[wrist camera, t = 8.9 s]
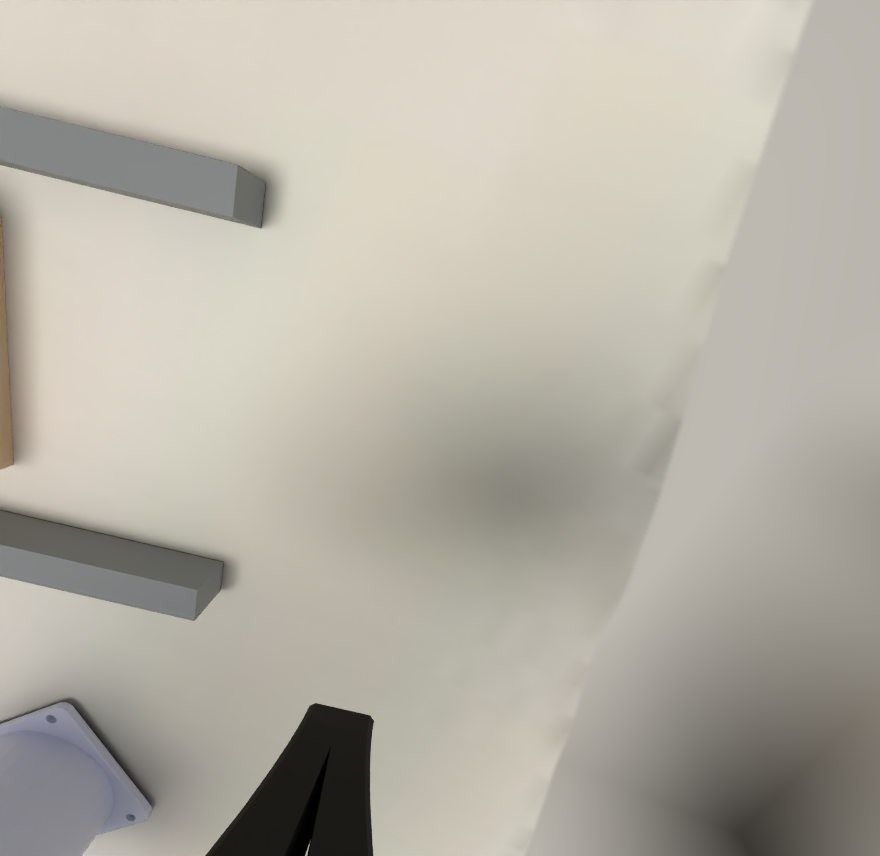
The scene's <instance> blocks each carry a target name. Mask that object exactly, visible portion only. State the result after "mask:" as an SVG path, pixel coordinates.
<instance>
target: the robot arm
mask: <svg viewBox="0 0 880 856" xmlns="http://www.w3.org/2000/svg"><path fill="white" fill-rule="evenodd" d="M373 723H374V720H373V719H372V718H371V716H370V715H365V714H361V713H356V712H352V711H348V710H343V709H339V708H335V707H330V706H326V705H321V704H317V703H315V704H313V705H311V706H310V707H309V708H308V710H307V712H306V714H305V716H304V718H303V720H302V722H301V723H300V725H299V727H298V728H297V730H296V732H295V733H294V735H293V737H292V738H291V740H290V742H289V743H288V745H287V746H286V748H285V749H284V751H283V752H282V754H281V755H280V757H279V758H278V760H277V761H276V763H275V764H274V766H273V767H272V769H271V770H270V771H269V773H268V774H267V776H266V777H265V778H264V780H263V781H262V783H261V784H260V785H259V787H258V788H257V789H256V791H255V792H254V794H253V795H252V796H251V798H250V799H249V801H248V802H247V803H246V805H245V806H244V807H243V809H242V810H241V811H240V813H239V814H238V815H237V817H236V818H235V819H234V820H233V822H232V823H231V824H230V825H229V827H228V828H227V829H226V830H225V832H224V833H223V834H222V835H221V837H220V838H219V839H218V841H217V842H216V843H215V844H214V846H213V847H212V848H211V849H210V851H209V852H208V853H207V854H206V856H305V854H306V851H307V848H308V845H309V843H310V846H309V850H308V855H307V856H373V847H372V828H371V810H370V751H371V738H372V729H373ZM151 812H152V807H151V805H150V804H149V802H148V801H147V800H146V799H145V797H144V796H143V795H142V793H141V792H140V791H139V790H138V788H137V787H136V786H135V785H134V783H133V782H132V781H131V779H130V778H129V777H128V776H127V774H126V773H125V772H124V771H123V769H122V768H121V767H120V765H119V764H118V763H117V762H116V760H115V759H114V758H113V757H112V755H111V754H110V753H109V751H108V750H107V749H106V748H105V746H104V745H103V744H102V742H101V741H100V740H99V739H98V737H97V736H96V735H95V734H94V732H93V731H92V730H91V728H90V727H89V726H88V725H87V723H86V722H85V721H84V720H83V718H82V717H81V716H80V714H79V713H78V712H77V711H76V709H75V708H74V707H73V706H72V705H71V704H69V703H66V702H60V703H57V704H54V705H52V706H49V707H46V708H43V709H40V710H38V711H35V712H32V713H29V714H27V715H24V716H21V717H18V718H16V719H13V720H10V721H7V722H4V723H2V724H0V856H82V855H83V854H84V852H85V851H86V849H87V848H88V846H89V845H90V843H91V842H92V841H93V839H94V838H95V836H96V835H98V834H102V833H105V832H108V831H112V830H115V829H118V828H122V827H125V826H128V825H132V824H135V823H139V822H142V821H145V820H146V819H147V818H148V817H149V815H150V813H151ZM310 840H311V841H310Z"/></svg>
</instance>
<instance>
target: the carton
mask: <svg viewBox="0 0 880 856" xmlns="http://www.w3.org/2000/svg"><path fill="white" fill-rule="evenodd" d="M11 465H14V464H13V444H12V423H11V402H10V381H9V360H8V339H7V318H6V298H5V277H4V256H3V235H2V215H1V214H0V469H3V468H6V467H8V466H11Z"/></svg>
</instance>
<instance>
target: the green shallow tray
mask: <svg viewBox="0 0 880 856" xmlns="http://www.w3.org/2000/svg"><path fill="white" fill-rule="evenodd" d="M0 165H3V166H7V167H11V168H15V169H20V170H24V171H28V172H32V173H36V174H40V175H44V176H48V177H52V178H56V179H61V180H65V181H69V182H73V183H77V184H81V185H85V186H89V187H93V188H98V189H102V190H106V191H110V192H114V193H118V194H122V195H126V196H130V197H134V198H139V199H143V200H147V201H151V202H155V203H159V204H163V205H167V206H171V207H175V208H180V209H184V210H188V211H192V212H196V213H200V214H204V215H208V216H212V217H217V218H221V219H225V220H229V221H233V222H237V223H241V224H245V225H249V226H253V227H258V228H261V222H262V213H263V204H264V195H265V186H266V183H265V182H264V181H262V180H261V179H259V178H257V177H256V176H254V175H253V174H251V173H250V172H248V171H247V170H245V169H243V168H242V167H240V166H239V165H237V164H232V163H228V162H224V161H220V160H216V159H212V158H208V157H204V156H200V155H196V154H192V153H188V152H184V151H180V150H175V149H171V148H167V147H163V146H159V145H155V144H151V143H147V142H143V141H139V140H135V139H131V138H127V137H123V136H118V135H114V134H110V133H106V132H102V131H98V130H94V129H90V128H86V127H82V126H78V125H74V124H70V123H66V122H61V121H57V120H53V119H49V118H45V117H41V116H37V115H33V114H29V113H25V112H21V111H17V110H13V109H9V108H4V107H0ZM222 571H223V562H221V561H216V560H212V559H208V558H203V557H199V556H195V555H190V554H186V553H182V552H177V551H173V550H169V549H165V548H160V547H156V546H152V545H147V544H143V543H139V542H134V541H130V540H126V539H122V538H117V537H113V536H109V535H104V534H100V533H96V532H91V531H87V530H83V529H78V528H74V527H70V526H66V525H61V524H57V523H53V522H48V521H44V520H40V519H35V518H31V517H27V516H22V515H18V514H14V513H10V512H5V511H1V510H0V576H2V577H6V578H10V579H15V580H19V581H23V582H28V583H32V584H36V585H41V586H45V587H49V588H54V589H58V590H62V591H67V592H71V593H76V594H80V595H84V596H89V597H93V598H97V599H102V600H106V601H110V602H115V603H119V604H123V605H128V606H132V607H136V608H141V609H145V610H149V611H154V612H158V613H162V614H167V615H171V616H175V617H180V618H184V619H189V620H193V621H195V619H196V618H197V617H198V616H199V615H200V614H201V612H202V611H203V610H204V609H205V608H206V607H207V605H208V604H209V603H210V602H211V601H212V600H213V598H214V597H215V596H216V595H217V594H218V593H219V591H220V588H221V579H222Z"/></svg>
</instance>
